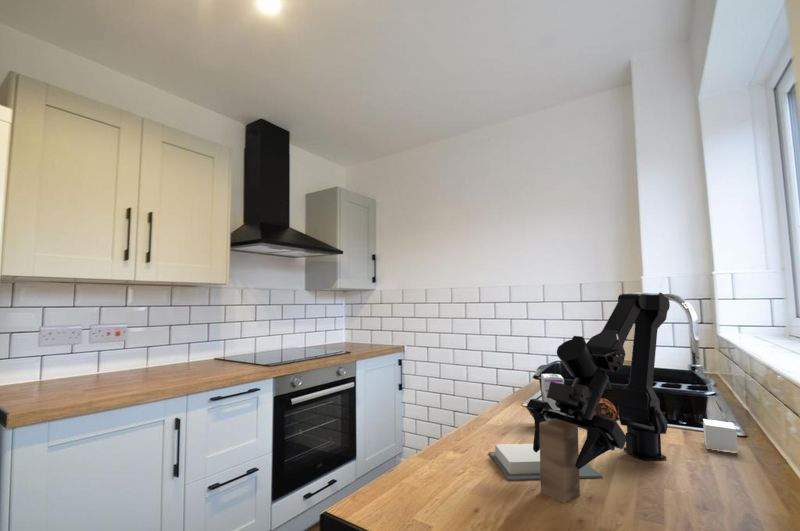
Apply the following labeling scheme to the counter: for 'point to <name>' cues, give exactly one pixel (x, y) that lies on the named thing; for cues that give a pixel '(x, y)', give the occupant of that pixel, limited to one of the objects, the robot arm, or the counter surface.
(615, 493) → the counter surface
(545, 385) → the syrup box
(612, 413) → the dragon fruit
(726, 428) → the white cube
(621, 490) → the counter surface
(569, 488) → the walnut pillar block
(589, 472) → the build board
